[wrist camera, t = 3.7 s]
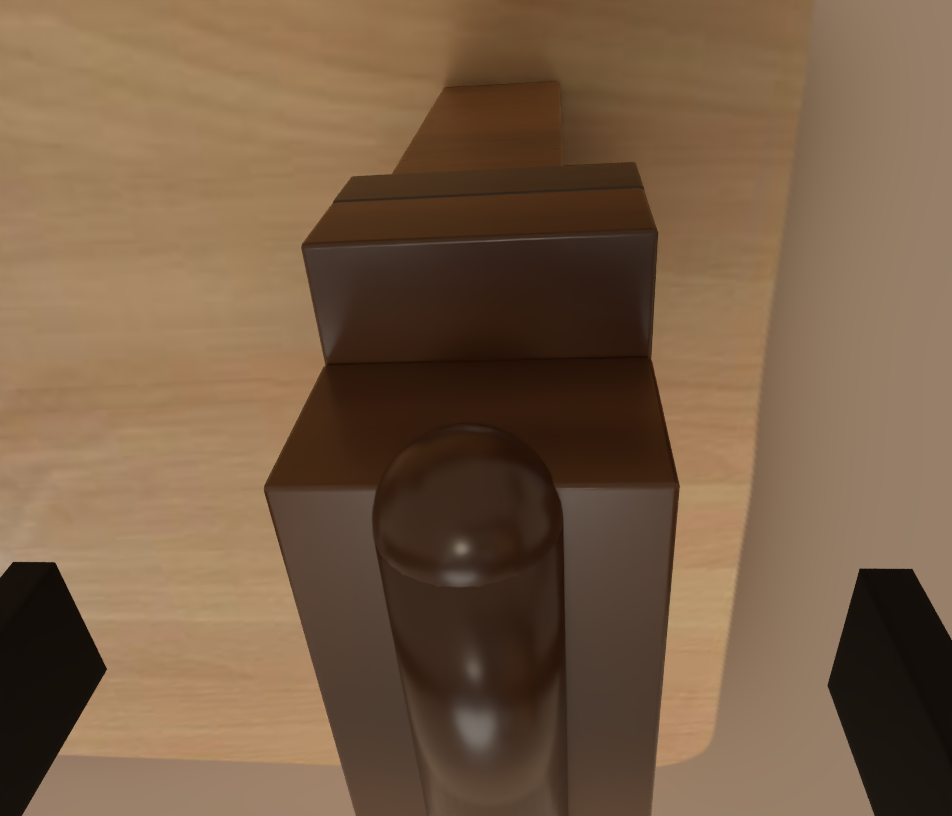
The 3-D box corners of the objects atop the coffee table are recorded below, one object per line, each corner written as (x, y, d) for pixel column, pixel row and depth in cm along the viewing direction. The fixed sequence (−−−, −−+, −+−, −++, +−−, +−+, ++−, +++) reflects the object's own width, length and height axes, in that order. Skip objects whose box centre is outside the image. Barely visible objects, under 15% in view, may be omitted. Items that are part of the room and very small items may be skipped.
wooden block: (443, 87, 27) (356, 228, 15) (560, 81, 26) (566, 220, 14) (464, 344, 32) (413, 597, 20) (561, 342, 32) (567, 599, 20)
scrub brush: (350, 175, 14) (177, 405, 8) (636, 161, 14) (713, 396, 7) (422, 623, 21) (362, 957, 14) (619, 625, 20) (651, 976, 14)
